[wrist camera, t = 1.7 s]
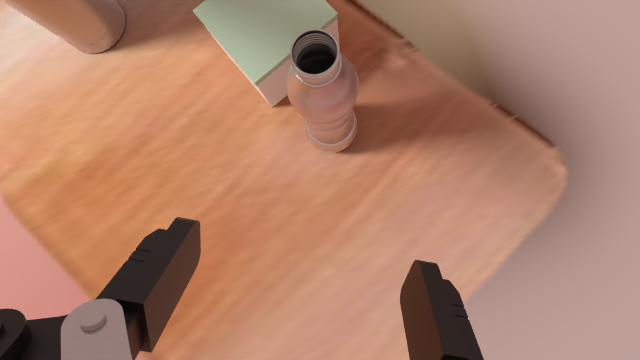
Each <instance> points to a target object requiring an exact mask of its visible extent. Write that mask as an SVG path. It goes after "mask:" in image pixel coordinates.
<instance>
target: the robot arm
mask: <svg viewBox="0 0 640 360" xmlns="http://www.w3.org/2000/svg"><path fill="white" fill-rule="evenodd" d="M2 1H3V2H5V3H7V4H8V5H10V6H11V7H13V8H14V9H16V10H17V11H19V12H21V13H22V14H24V15H25V16H27V17H28V18H30V19H32V20H33V21H35V22H36V23H38V24H39V25H41V26H43V27H44V28H46V29H47V30H49V31H50V32H52V33H53V34H55V35H56V36H58V37H60V38H61V39H63V40H64V41H66V42H67V43H69V44H71V45H72V46H74V47H75V48H77V49H78V50H80V51H82V52H85V53H99V52H103V51H105V50H107V49H109V48H110V47H112V46H113V45H114V44H115V43H116V42H117V41H118V40H119V38H120V37H121V35H122V33H123V31H124V27H125V13H124V11H123V8H122V7H121V5H120V4H119V3H118V2H117V1H116V0H2ZM200 252H201V248H200V222H199V221H197V220H191V219H186V218H180V217H177V218H176V219H175V220H174V221H173V222H172V224H171V225H170V227H169V228H168V229H167V230H164V229H157V230H156V231H154V232H153V233H151V234H149V235H148V236H146V237H145V238H144V239H143V240H142V242H141V243H140V244H139V246H138V247H137V248H136V251H134V252H133V253H132V254H131V256H130V257H129V259H128V261H126V262H125V263H124V264H123V266H122V267H121V268H120V269H119V271H118V272H117V273H116V274H115V276H114V277H113V278H112V279H111V281H110V282H109V283H108V284H107V286H106V287H105V288H104V289H103V291H102V292H101V293H100V294H99V296H98V297H97V298H96V299H95V300H92V301H89V302H86V303H84V304H82V305H80V306H79V307H77V308H76V309H74V310H73V311H72V312H71V313H70V314H68V315H65V316H60V317H52V318H43V319H35V320H26V318H25V316H24V315H23V313H21V312H20V311H17V310H14V309H0V360H135V358H136V356H137V355H138V353H139V351H145V352H151V353H152V351H153V349H154V347H155V345H156V343H157V341H158V339H159V338H160V336H161V334H162V332H163V330H164V328H165V326H166V324H167V322H168V321H169V319H170V317H171V315H172V313H173V311H174V309H175V307H176V305H177V304H178V302H179V300H180V298H181V296H182V294H183V292H184V290H185V288H186V287H187V285H188V283H189V281H190V279H191V277H192V275H193V273H194V271H195V269H196V267H197V265H198V262H199V258H200ZM400 304H401V310H402V316H403V322H404V328H405V333H406V339H407V345H408V351H409V357H410V360H484V359H483V356H482V355H481V351H480V348H479V346H478V343H477V340H476V338H475V335H474V332H473V329H472V327H471V324H470V321H469V320H468V316H467V313H466V310H465V309H464V305H463V302H462V300H461V297H460V294H459V292H458V291H457V290H456V288H455V287H454V286H453V284H452V283H451V282H450V281H449V280H445V279H442V276H441V273H440V269H439V267H438V265H437V264H436V263H431V262H426V261H420V260H415V261H414V262H413V264H412V266H411V269H410V271H409V273H408V275H407V277H406V279H405V282H404V284H403V286H402V289H401V294H400Z"/></svg>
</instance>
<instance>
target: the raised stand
mask: <svg viewBox="0 0 640 360" xmlns="http://www.w3.org/2000/svg"><path fill="white" fill-rule="evenodd" d="M192 11H193V12H194V13H195V15H196V16H197V17H198V18H199V19H200V21H201V22H202V23H203V24H204V25H205V27H206V28H207V29H208V31H209V32H210V33H211V35H212V36H213V37H214V39H215V40H216V41H217V43H218V44H219V45H220V47H221V48H222V49H223V50H224V51H225V53H226V54H227V55H228V56H229V57H230V58H231V60H232V61H233V62H234V63H235V64H236V65H237V67H238V68H239V69H240V70H241V71H242V72H243V74H244V75H245V76H246V77H247V78H248V80H249V81H250V82H251V83H252V84H253V85H254V87H255V88H256V89H257V90H258V91H259V92H260V94H261V95H262V96H263V97H264V98H265V100H266V101H267V102H268V103H269V104H270V105H271V107H274V106H275V105H276V104H277V103H278V102H280V101H281V100H282V99H283V98H284V97H286V96H287V90H286V81H287V74H288V71H289V68H290V66H291V64H292V63H291V59H290V48H291V44H292V42H293V40H294V39H295V38H296V36H297V35H299V34H300V33H301V32H303V31H305V30H308V29H312V28H319V29H323V30H326V31H328V32H329V33H330V34H332V35H333V36H334V38H335V39H336V41H337V43H338V45H339V33H338V21H337V19H338V13H337V12H336V11H335V10H334V9H333V8H332V6H331V5H330V4H329V3H328V2H327V1H326V0H204V1H203V2H202V3H201V4H200V5H198V6H197V7H196V8H195V9H194V10H192ZM339 50H340V45H339Z"/></svg>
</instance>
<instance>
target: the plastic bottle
mask: <svg viewBox="0 0 640 360" xmlns="http://www.w3.org/2000/svg"><path fill="white" fill-rule="evenodd" d="M290 59H291V63H292V64H291V66H290V68H289V71H288V74H287V81H286V90H287V95H288V98H289V101H290V102H291V104H292V106H293V107H294V108H295V110H296V111H297V112H298V113H299V114H300V115H301V116H302V117H303V118H304V119H305V128H306V133H307V136H308V138H309V140H310V141H311V142H312V144H313V145H315V146H316V147H317V148H319V149H321V150H323V151H326V152H338V151H341V150H343V149H345V148H346V147H348V146H349V145H350V144H351V142H352V141H353V140H354V138H355V136H356V133H357V126H358V125H357V119H356V116H355V113H354V111H353V106H354V103H355V101H356V98H357V94H358V87H359V82H358V76H357V73H356V70H355V68H354V66H353V65H352V63H351V62H350V60H349V59H348V58H347V57H346V56H345V55H344V54H342V53H341V52H340V50H339V45H338V43H337V41H336V39H335V38H334V36H333V35H332V34H330V33H329V32H328V31H326V30H323V29H319V28H312V29H308V30H305V31H303V32H301V33H300V34H299V35H297V36H296V38H295V39H294V40H293V42H292V44H291V48H290Z"/></svg>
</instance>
